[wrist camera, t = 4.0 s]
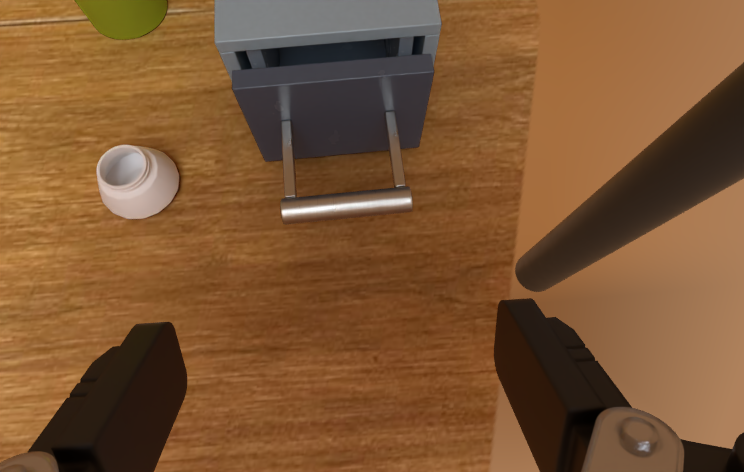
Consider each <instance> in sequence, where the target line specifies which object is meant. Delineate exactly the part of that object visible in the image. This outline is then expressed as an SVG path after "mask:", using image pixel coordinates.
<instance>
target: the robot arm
mask: <svg viewBox="0 0 744 472" xmlns="http://www.w3.org/2000/svg"><path fill="white" fill-rule="evenodd" d="M494 361H495V367H496V371H497V374H498V377H499V379H500V381H501V384H502V386H503V388H504V391H505V393H506V395H507V397H508V400H509V402H510V404H511V407H512V409H513V411H514V413H515V416H516V418H517V420H518V423H519V425H520V427H521V429H522V432H523V434H524V436H525V438H526V440H527V443H528V445H529V448H530V450H531V452H532V454H533V457H534V459H535V461H536V464H537V466H538V468H539V470H540V472H744V433H742V434H741V435H739V437H738V438H737V439H736V442H735V444H734V447H733V449H728V448H722V447H717V446H712V445H706V444H701V443H696V442H690V441H686V440H682V439H680V438H679V437H678V436H677V434H676V433H675V432H674V431H673V430H672V429H671V428H670V427H669V426H668V425H667V424H665V423H664V422H663V421H661V420H660V419H658V418H657V417H655V416H653V415H651V414H649V413H647V412H644V411H641V410H638V409H635V408H632V407H631V405H630V404H629V403H628V402H627V400H626V399H625V397H624V396H623V395H622V393H621V392H620V391H619V389H618V388H617V387H616V385H615V384H614V383H613V381H612V380H611V379H610V377H609V376H608V375H607V373H606V372H605V371H604V369H603V368H602V367H601V366H600V364H599V363H598V361H595V358H594V356H593V355H592V353H591V352H590V351H589V349H588V348H585V344H584V343H583V341H582V340H581V339H580V338H579V336H578V335H577V333H576V332H575V331H574V330H573V329H572V328H570V327H569V326H568V325H566V324H565V323H563V322H562V321H560V320H559V319H558V318H556V317H552V318H546V317H545V316H544V314H543V313H542V312H541V310H540V309H539V307H538V306H537V304H536V303H535V301H534V300H533V299H531V298H529V299H515V300H501V301H500V302H499V305H498V312H497V323H496V333H495V344H494ZM80 380H81V381H80V383H78V384H77V385H76V386H75V388H74V389H73V390H72V392H71V393H70V397H69V398H67V399H66V400H65V401H64V403H63V404H62V405H61V407H60V408H59V410H58V411H57V412H56V414H55V415H54V416H53V418H52V419H51V421H50V422H49V423H48V425H47V426H46V427H45V429H44V430H43V432H42V433H41V434H40V436H39V437H38V438H37V440H36V441H35V442H34V444H33V445H32V447H31V448H30V449H29V451H28V452H27V453H23V454H19V455H16V456H13V457H11V458H9V459H7V460H4V461H3V462H1V463H0V472H154V470H155V467H156V465H157V462H158V460H159V458H160V455H161V453H162V450H163V448H164V446H165V443H166V441H167V438H168V436H169V434H170V431H171V429H172V427H173V424H174V422H175V419H176V417H177V415H178V412H179V410H180V407H181V405H182V403H183V400H184V398H185V394H186V390H187V372H186V368H185V364H184V361H183V357H182V353H181V350H180V346H179V343H178V339H177V335H176V332H175V328H174V326H173V325H172V323H171V322H159V323H144V324H136V325H135V326H134V327H133V328H132V329H131V331H130V332H129V334H128V335H127V337H126V338H125V340H124V341H123V343H122V344H121V346H116V347H112V348H111V349H109V350H108V351H107V352H105V353H104V354H103V355H102V356H100V357H99V358H98V359H97V360H95V361H94V362H93V363H92V364H91V366H90V367H89V368H88V370H87V371H86V373H85V374H84V375H83V377H82V378H81V379H80Z"/></svg>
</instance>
